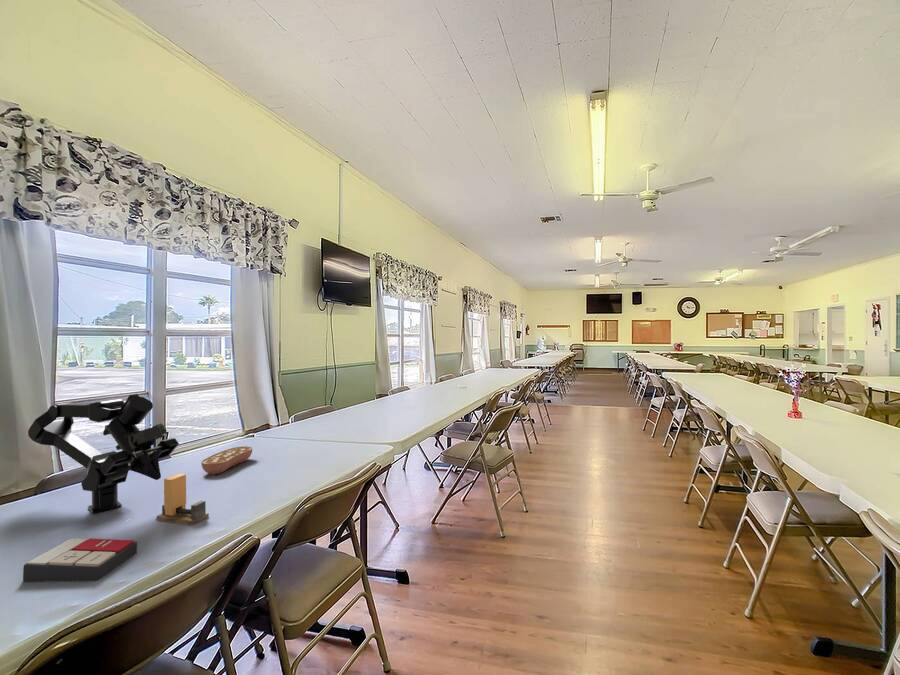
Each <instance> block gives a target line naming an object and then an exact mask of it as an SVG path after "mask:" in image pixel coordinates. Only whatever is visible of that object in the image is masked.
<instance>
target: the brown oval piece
mask: <svg viewBox="0 0 900 675" xmlns="http://www.w3.org/2000/svg"><path fill="white" fill-rule="evenodd" d="M252 454H253V447H251V446H236V447H231V448H228V449H224V450H221V451H220V452H217V453H214V454H212V455H210V456H208V457H207V458H205V459H203V460H201V462H200V464H201V467H202V470H203V471H204V472H205V473H207V474H209V475H219V474H221V473H223V472H225V471H226V470H228V469H230V468H232V467H234V466H237V465H238V464H241V463H243V461H244V462H245V461H247V460H249V459H250V457H251V456H252Z"/></svg>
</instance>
